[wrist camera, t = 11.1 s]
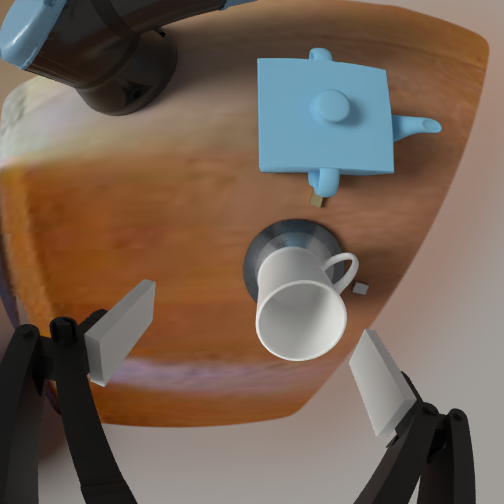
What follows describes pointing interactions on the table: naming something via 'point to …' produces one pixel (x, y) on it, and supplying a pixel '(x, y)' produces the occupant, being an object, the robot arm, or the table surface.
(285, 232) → the socket pad
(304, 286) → the mug
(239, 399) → the table surface
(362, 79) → the teapot
